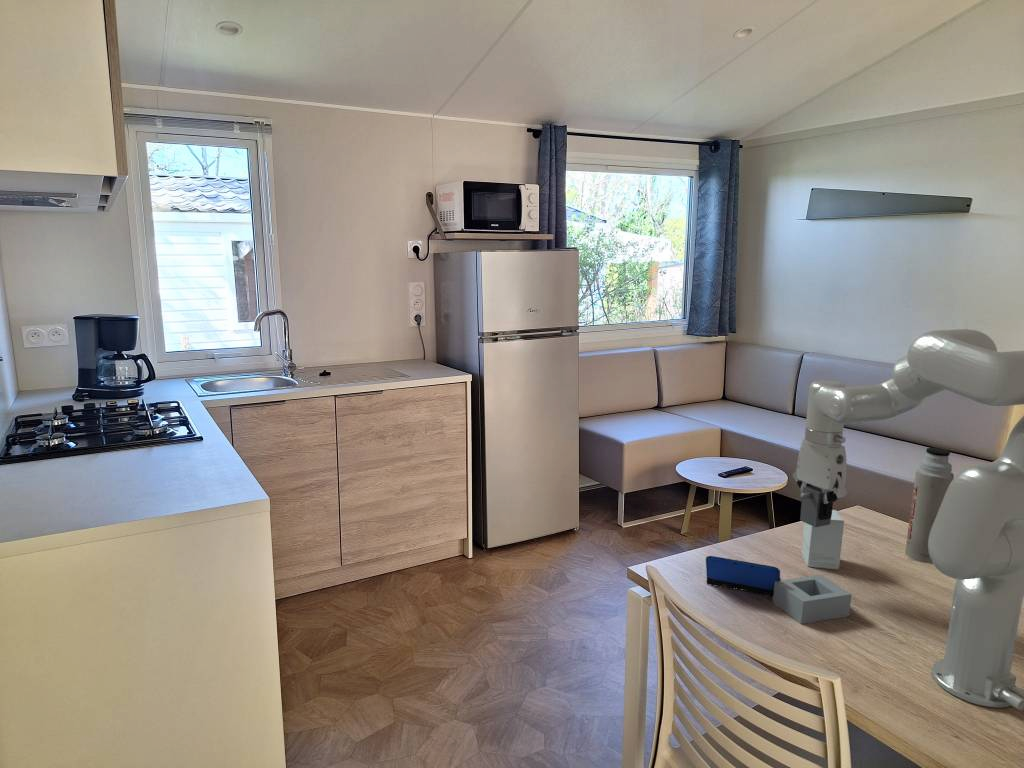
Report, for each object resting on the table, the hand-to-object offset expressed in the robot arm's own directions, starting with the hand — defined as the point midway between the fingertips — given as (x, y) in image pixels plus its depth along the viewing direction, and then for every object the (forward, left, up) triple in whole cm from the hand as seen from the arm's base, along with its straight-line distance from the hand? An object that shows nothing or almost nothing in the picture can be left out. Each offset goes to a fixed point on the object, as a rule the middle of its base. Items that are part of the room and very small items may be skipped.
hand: (815, 514), depth 152 cm
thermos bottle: (+5, -39, -17) cm, 43 cm away
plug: (0, +1, -2) cm, 2 cm away
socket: (-9, +7, -17) cm, 21 cm away
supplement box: (+9, -11, -17) cm, 22 cm away
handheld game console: (+3, +15, -18) cm, 24 cm away
